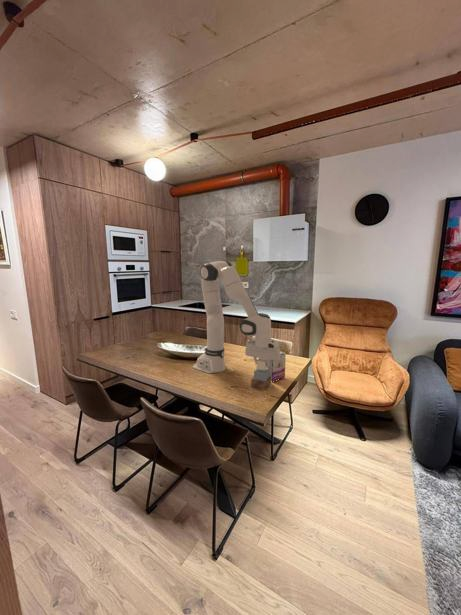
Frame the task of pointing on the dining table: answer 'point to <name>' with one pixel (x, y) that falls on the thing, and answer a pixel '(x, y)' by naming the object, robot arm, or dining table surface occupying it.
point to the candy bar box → (277, 368)
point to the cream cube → (262, 364)
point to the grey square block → (261, 374)
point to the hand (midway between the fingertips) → (262, 365)
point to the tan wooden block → (260, 383)
